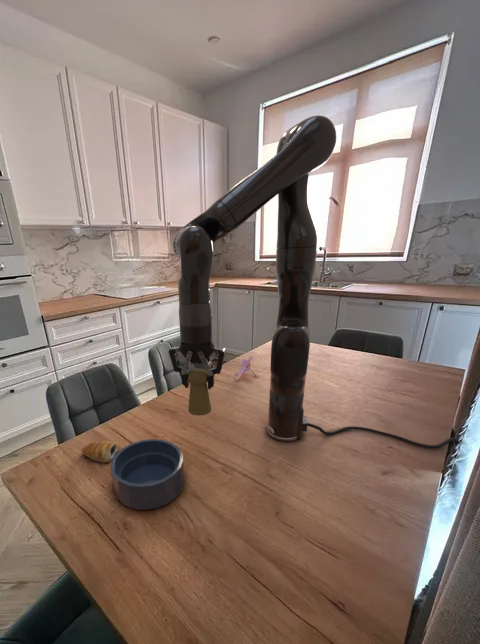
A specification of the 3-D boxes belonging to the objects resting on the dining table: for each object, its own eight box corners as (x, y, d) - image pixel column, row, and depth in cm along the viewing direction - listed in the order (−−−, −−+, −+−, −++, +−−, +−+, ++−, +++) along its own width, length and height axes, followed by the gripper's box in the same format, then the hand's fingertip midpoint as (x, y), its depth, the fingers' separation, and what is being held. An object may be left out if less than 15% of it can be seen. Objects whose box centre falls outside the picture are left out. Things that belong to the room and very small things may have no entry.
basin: (191, 465, 81) (190, 442, 78) (173, 516, 66) (171, 491, 63) (131, 457, 84) (128, 436, 82) (102, 505, 69) (97, 480, 67)
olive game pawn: (209, 416, 77) (208, 375, 73) (185, 414, 79) (183, 375, 74) (213, 404, 83) (211, 366, 79) (190, 403, 84) (188, 365, 80)
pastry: (78, 460, 84) (75, 448, 83) (90, 445, 90) (88, 434, 89) (110, 464, 82) (108, 452, 81) (120, 448, 88) (119, 437, 87)
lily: (244, 371, 138) (234, 354, 134) (268, 365, 130) (258, 347, 127) (236, 389, 130) (225, 372, 126) (261, 384, 122) (250, 366, 118)
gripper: (160, 325, 70) (167, 392, 77) (224, 325, 67) (225, 395, 73) (170, 317, 77) (175, 379, 83) (228, 317, 74) (228, 382, 80)
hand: (198, 387), depth 78 cm, fingers closed on olive game pawn, 5 cm apart
